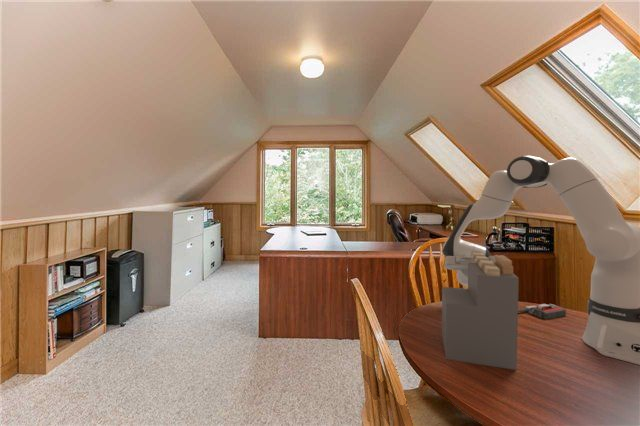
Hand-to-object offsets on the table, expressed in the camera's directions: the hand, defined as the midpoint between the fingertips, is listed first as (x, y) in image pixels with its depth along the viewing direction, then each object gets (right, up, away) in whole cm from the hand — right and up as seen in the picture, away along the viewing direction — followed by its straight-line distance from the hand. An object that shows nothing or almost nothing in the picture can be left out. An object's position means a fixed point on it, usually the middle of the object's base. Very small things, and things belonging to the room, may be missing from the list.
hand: (477, 257), depth 103 cm
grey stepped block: (-8, -27, -12) cm, 31 cm away
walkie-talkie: (+32, -26, +13) cm, 43 cm away
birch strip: (-4, -1, -10) cm, 11 cm away
